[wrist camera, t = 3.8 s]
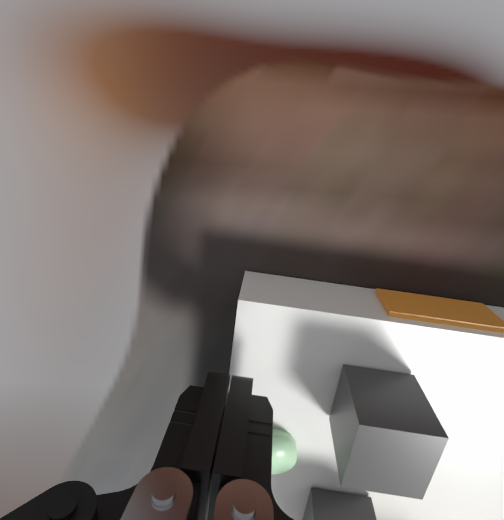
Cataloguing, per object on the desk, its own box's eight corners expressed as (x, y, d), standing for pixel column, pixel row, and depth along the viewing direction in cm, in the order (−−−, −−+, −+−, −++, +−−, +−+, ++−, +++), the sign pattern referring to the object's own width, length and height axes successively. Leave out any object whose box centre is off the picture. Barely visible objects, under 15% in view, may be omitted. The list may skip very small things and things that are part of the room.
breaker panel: (610, 317, 13) (698, 367, 11) (448, 607, 20) (475, 685, 17) (245, 266, 14) (236, 301, 11) (208, 568, 21) (196, 637, 18)
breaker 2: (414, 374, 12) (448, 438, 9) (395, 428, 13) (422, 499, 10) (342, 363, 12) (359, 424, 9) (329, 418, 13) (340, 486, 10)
